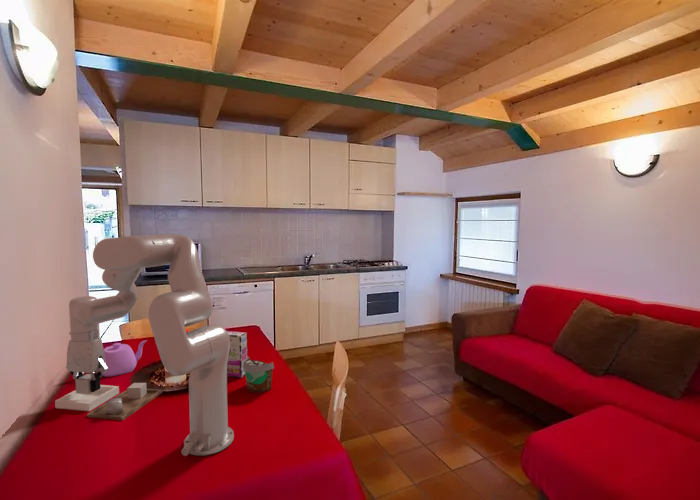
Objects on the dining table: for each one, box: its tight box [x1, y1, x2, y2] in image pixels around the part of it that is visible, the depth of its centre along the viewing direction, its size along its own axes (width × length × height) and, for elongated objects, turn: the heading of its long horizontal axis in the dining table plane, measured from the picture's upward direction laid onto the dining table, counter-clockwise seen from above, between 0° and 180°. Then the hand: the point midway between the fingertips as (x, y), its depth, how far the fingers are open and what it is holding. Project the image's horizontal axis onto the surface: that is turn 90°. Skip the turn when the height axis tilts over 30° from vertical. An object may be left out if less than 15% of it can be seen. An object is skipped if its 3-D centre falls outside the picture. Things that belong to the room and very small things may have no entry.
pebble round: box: [105, 397, 123, 415], centre depth 112 cm, size 4×4×4 cm
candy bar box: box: [226, 330, 248, 379], centre depth 142 cm, size 11×5×16 cm, turn 76°
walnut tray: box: [86, 388, 163, 421], centre depth 118 cm, size 18×12×1 cm, turn 172°
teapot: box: [100, 339, 148, 378], centre depth 144 cm, size 13×20×11 cm
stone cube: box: [75, 373, 92, 394], centre depth 119 cm, size 4×4×4 cm
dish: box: [54, 384, 120, 412], centre depth 120 cm, size 12×12×3 cm
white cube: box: [126, 382, 148, 399], centre depth 123 cm, size 4×4×4 cm
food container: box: [243, 356, 275, 394], centre depth 129 cm, size 12×6×10 cm, turn 62°
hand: (88, 389), depth 120 cm, fingers open, 4 cm apart
